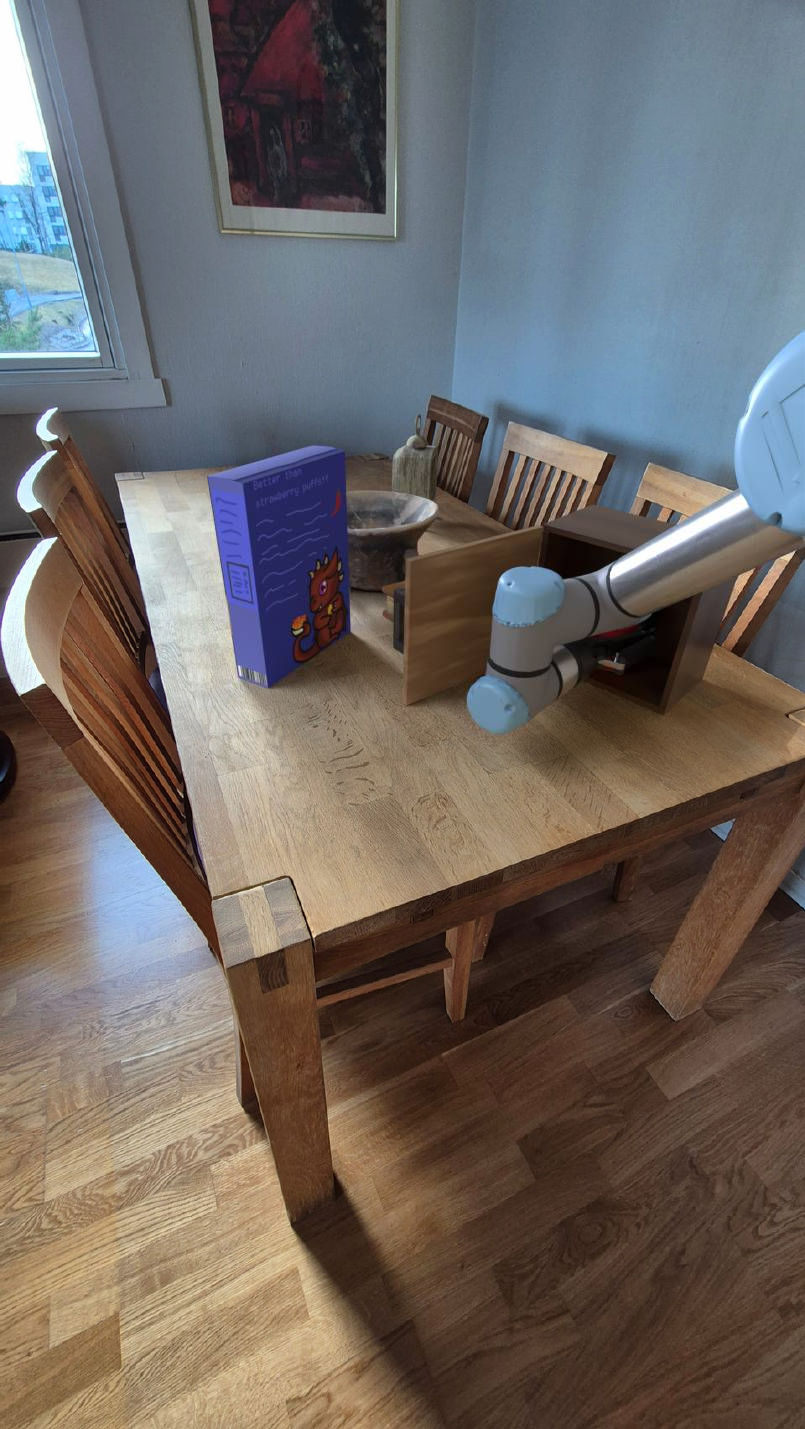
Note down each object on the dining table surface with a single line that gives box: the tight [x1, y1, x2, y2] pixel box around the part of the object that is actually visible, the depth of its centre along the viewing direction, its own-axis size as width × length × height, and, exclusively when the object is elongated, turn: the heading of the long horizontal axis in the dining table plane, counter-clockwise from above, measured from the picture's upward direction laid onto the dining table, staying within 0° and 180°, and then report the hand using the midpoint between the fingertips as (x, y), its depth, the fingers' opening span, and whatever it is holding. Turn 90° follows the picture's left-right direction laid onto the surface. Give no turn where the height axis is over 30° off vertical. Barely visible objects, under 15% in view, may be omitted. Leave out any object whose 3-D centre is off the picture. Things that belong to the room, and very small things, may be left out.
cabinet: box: [537, 504, 739, 716], centre depth 94 cm, size 14×24×22 cm, turn 47°
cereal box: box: [206, 445, 352, 689], centre depth 94 cm, size 22×6×30 cm, turn 149°
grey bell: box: [391, 413, 439, 503], centre depth 152 cm, size 14×9×25 cm, turn 170°
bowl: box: [346, 490, 441, 592], centre depth 124 cm, size 27×26×15 cm
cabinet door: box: [392, 524, 544, 706], centre depth 92 cm, size 6×24×22 cm, turn 127°
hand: (634, 613), depth 98 cm, fingers closed on beverage can, 7 cm apart
